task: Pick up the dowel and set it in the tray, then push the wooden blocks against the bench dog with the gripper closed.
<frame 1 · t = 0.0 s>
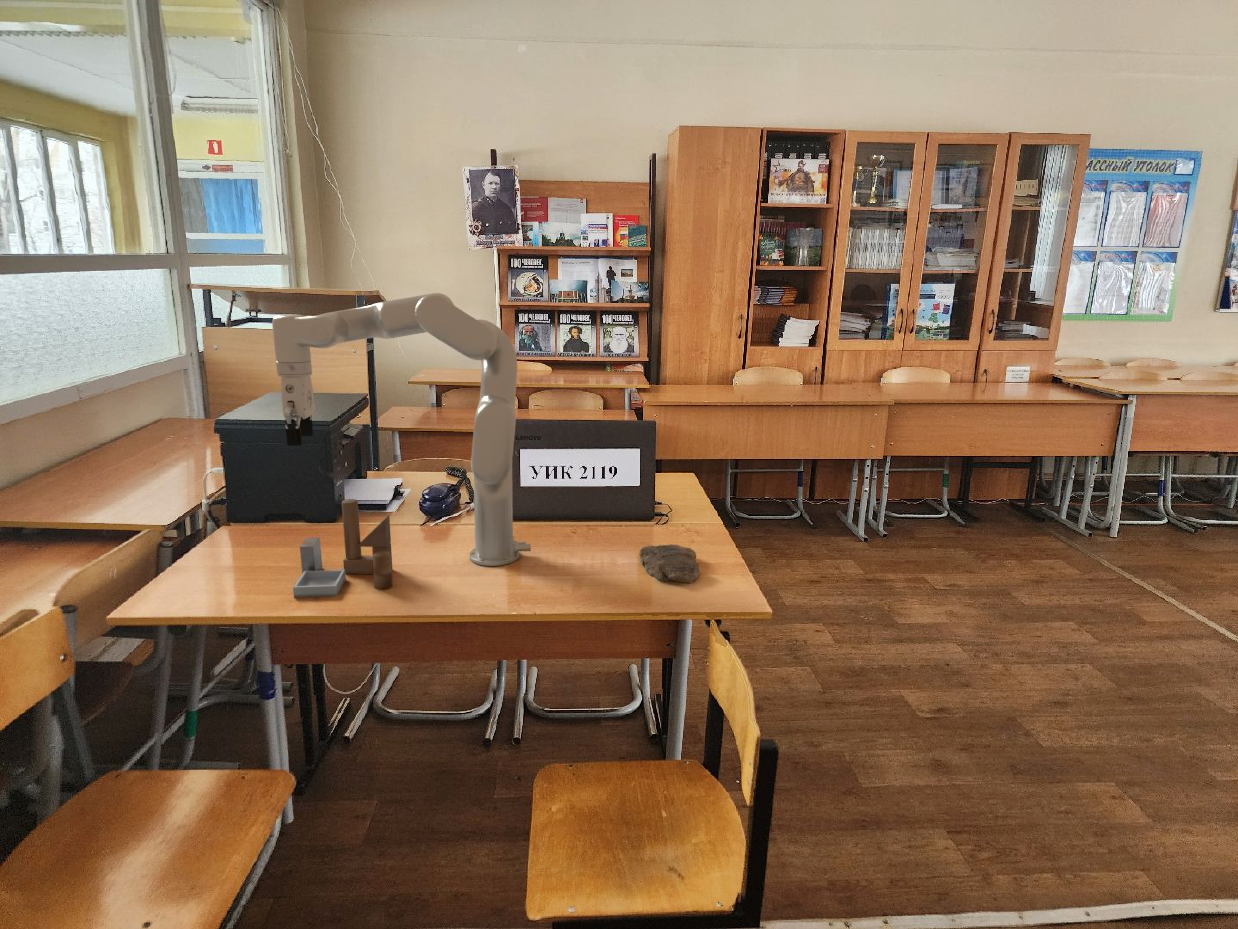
hand: (300, 440, 178), 31 cm above the table, fingers open, 9 cm apart
grey rock: (671, 572, 186), on the table
bench dog: (312, 573, 180), on the table
dowel: (383, 586, 173), on the table
wooden blocks: (368, 572, 181), on the table
tray: (320, 588, 172), on the table
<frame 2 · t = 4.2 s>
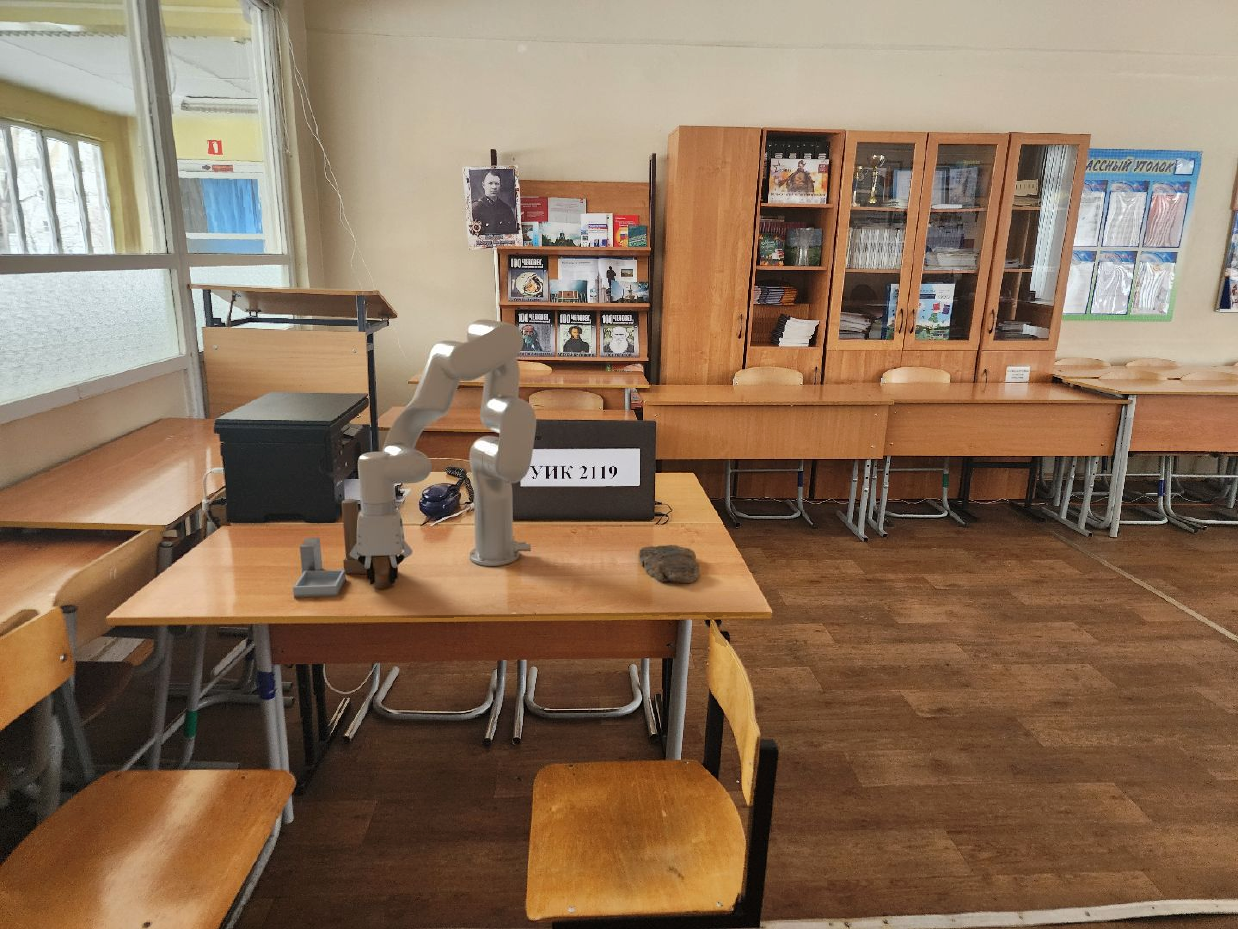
hand: (383, 581, 173), 1 cm above the table, fingers closed on dowel, 4 cm apart
dowel: (383, 586, 173), on the table, touching gripper
everything else where it was.
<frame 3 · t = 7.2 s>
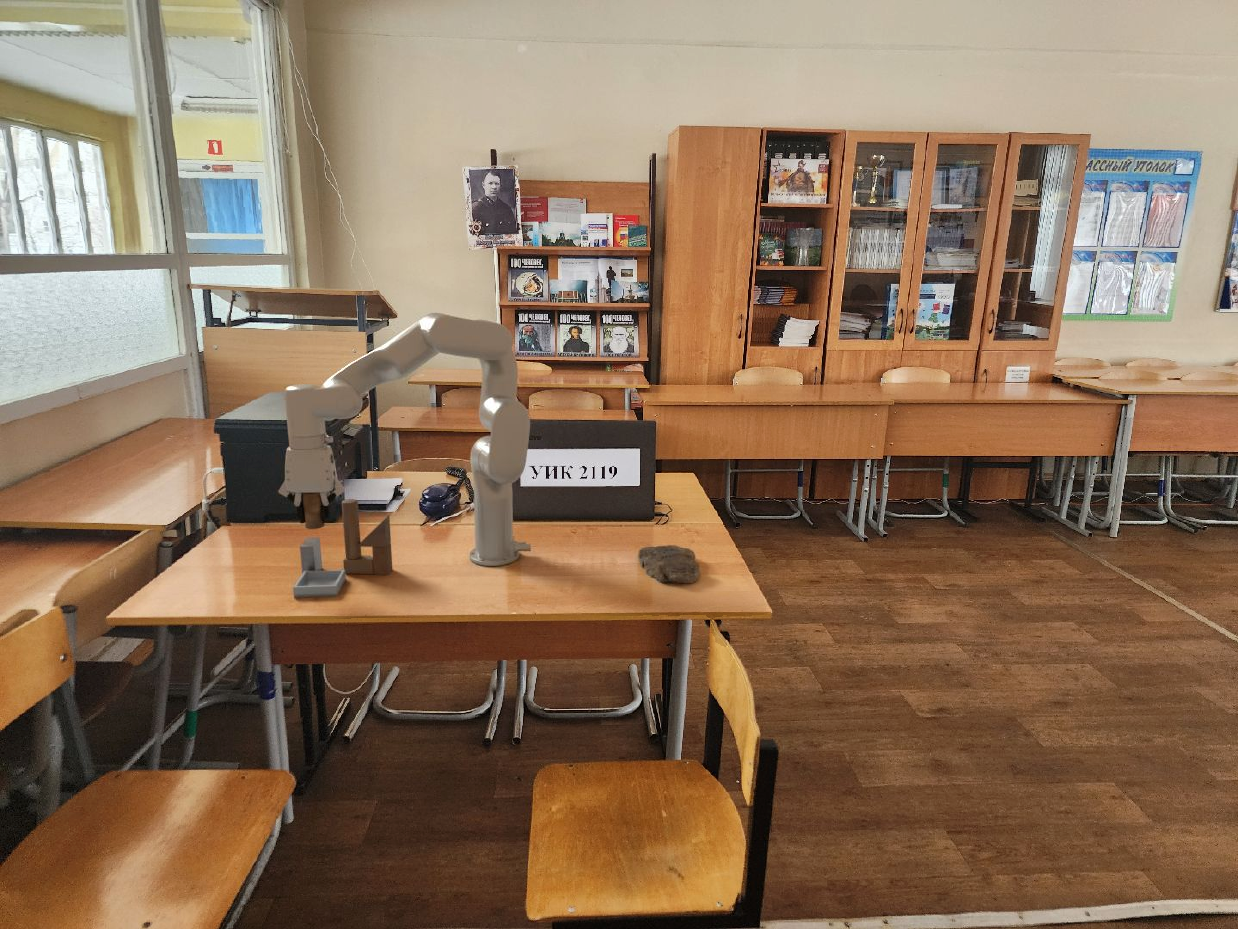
hand: (314, 520, 167), 17 cm above the table, fingers closed on dowel, 4 cm apart
dowel: (315, 526, 168), point 15 cm above the table, touching gripper
everything else where it was.
when the fingers open (3 cm above the table, at t = 10.5 s): dowel stays where it is, resting on tray.
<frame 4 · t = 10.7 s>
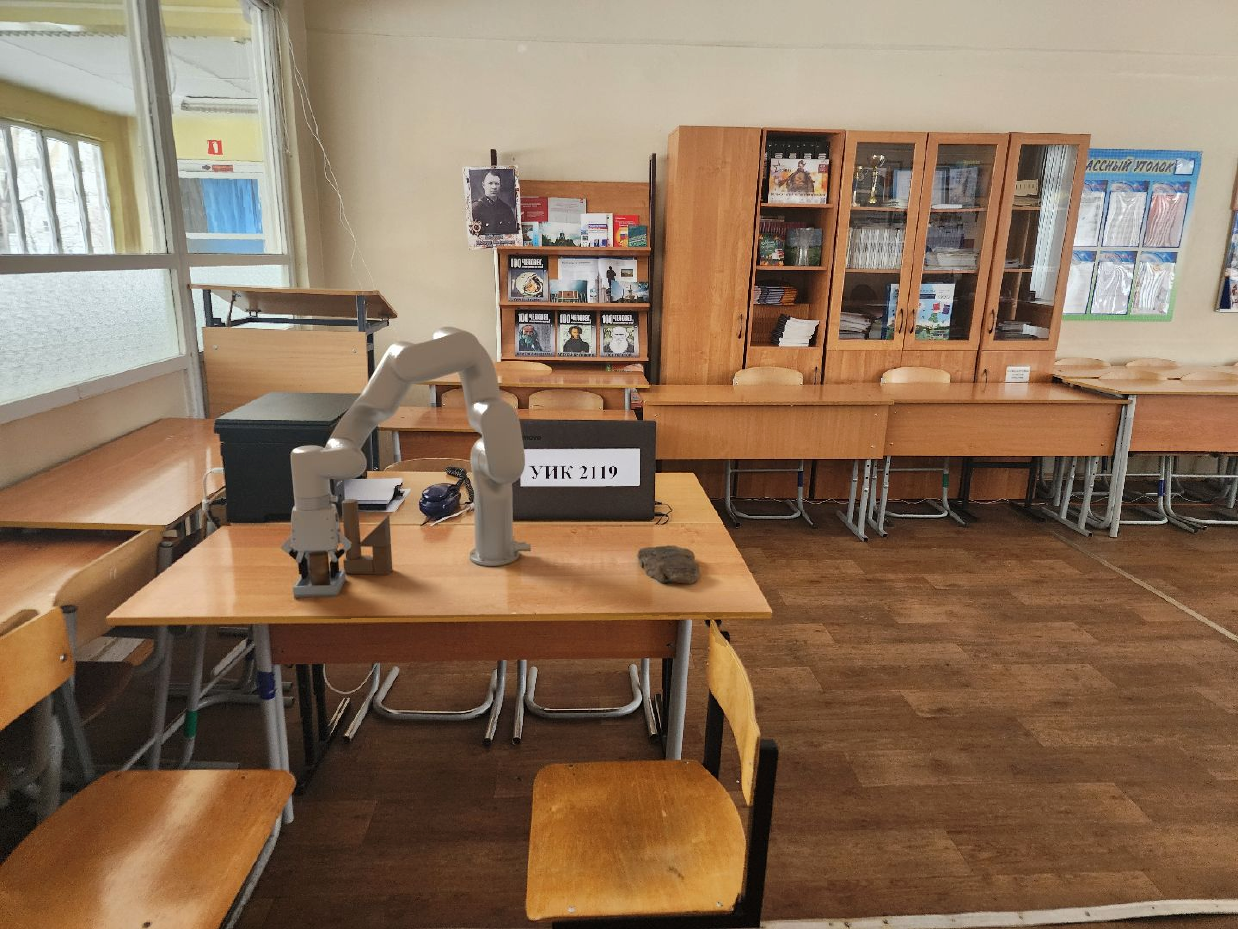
hand: (319, 575, 171), 3 cm above the table, fingers open, 5 cm apart
dowel: (321, 585, 171), point 1 cm above the table, touching tray
everything else where it was.
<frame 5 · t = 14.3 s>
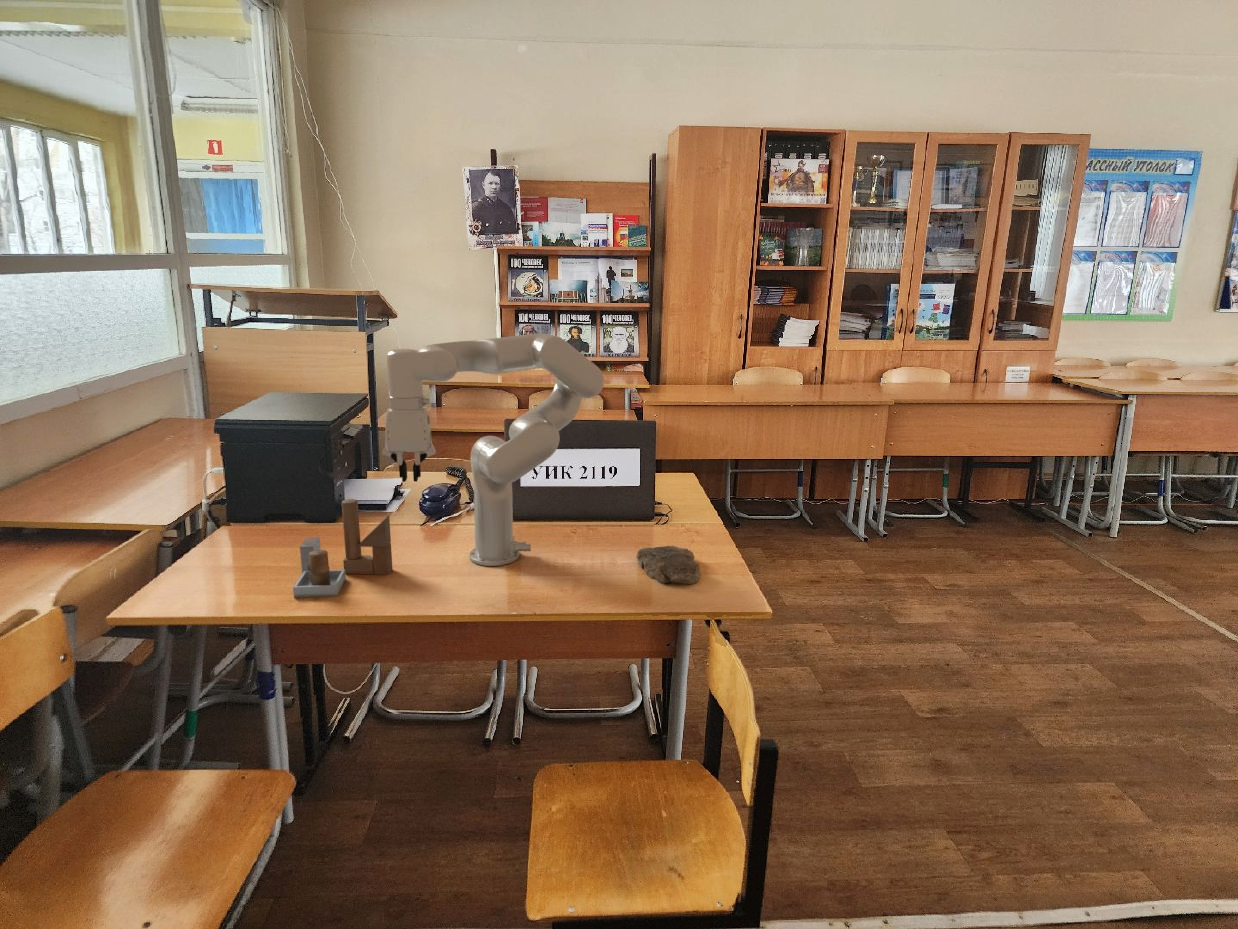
hand: (410, 479, 177), 23 cm above the table, fingers closed
nothing on the table moved.
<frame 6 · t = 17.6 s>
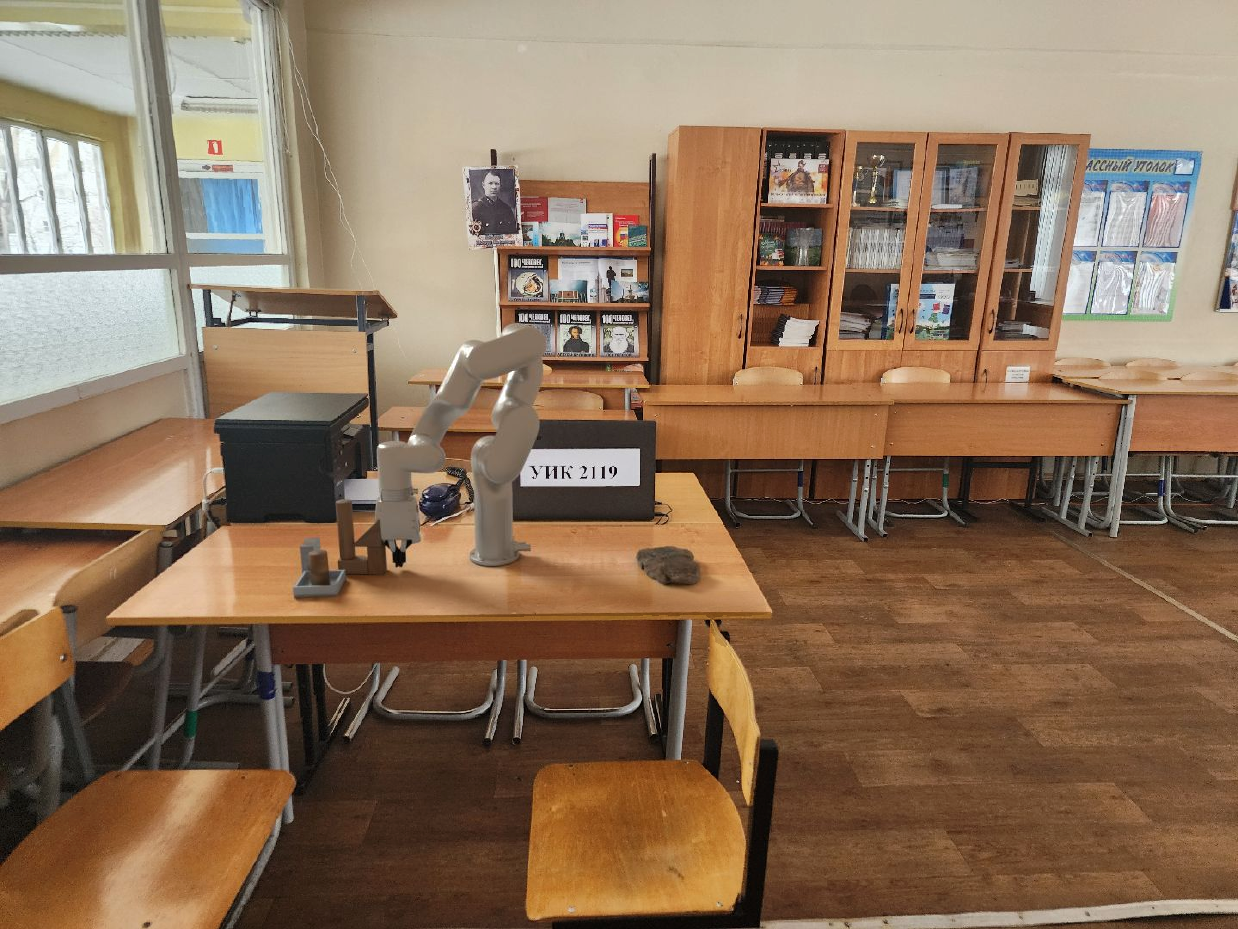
hand: (399, 565, 182), 1 cm above the table, fingers closed
wooden blocks: (363, 572, 181), on the table, touching gripper
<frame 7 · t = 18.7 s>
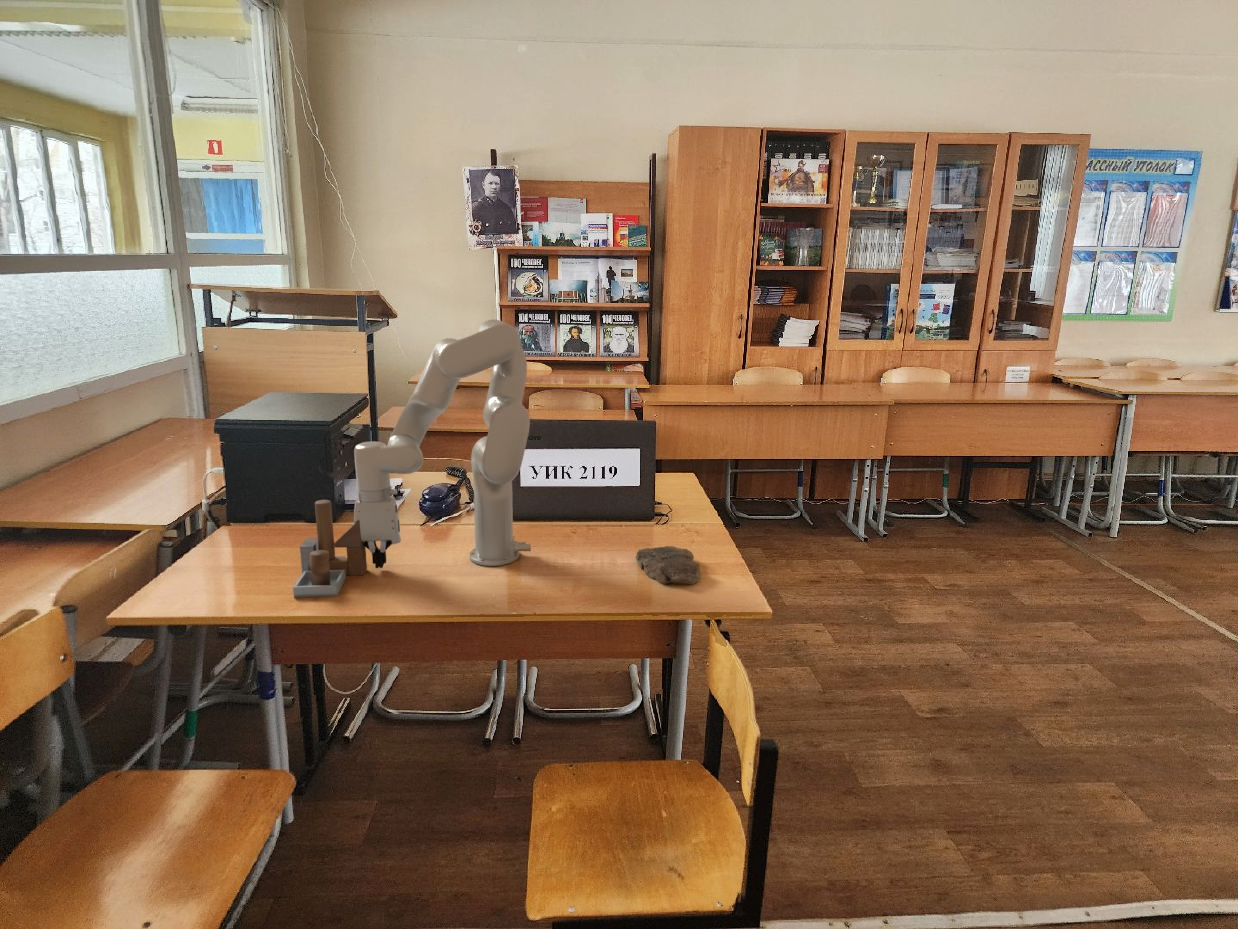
hand: (379, 565, 181), 1 cm above the table, fingers closed
wooden blocks: (342, 573, 181), on the table, touching bench dog, gripper
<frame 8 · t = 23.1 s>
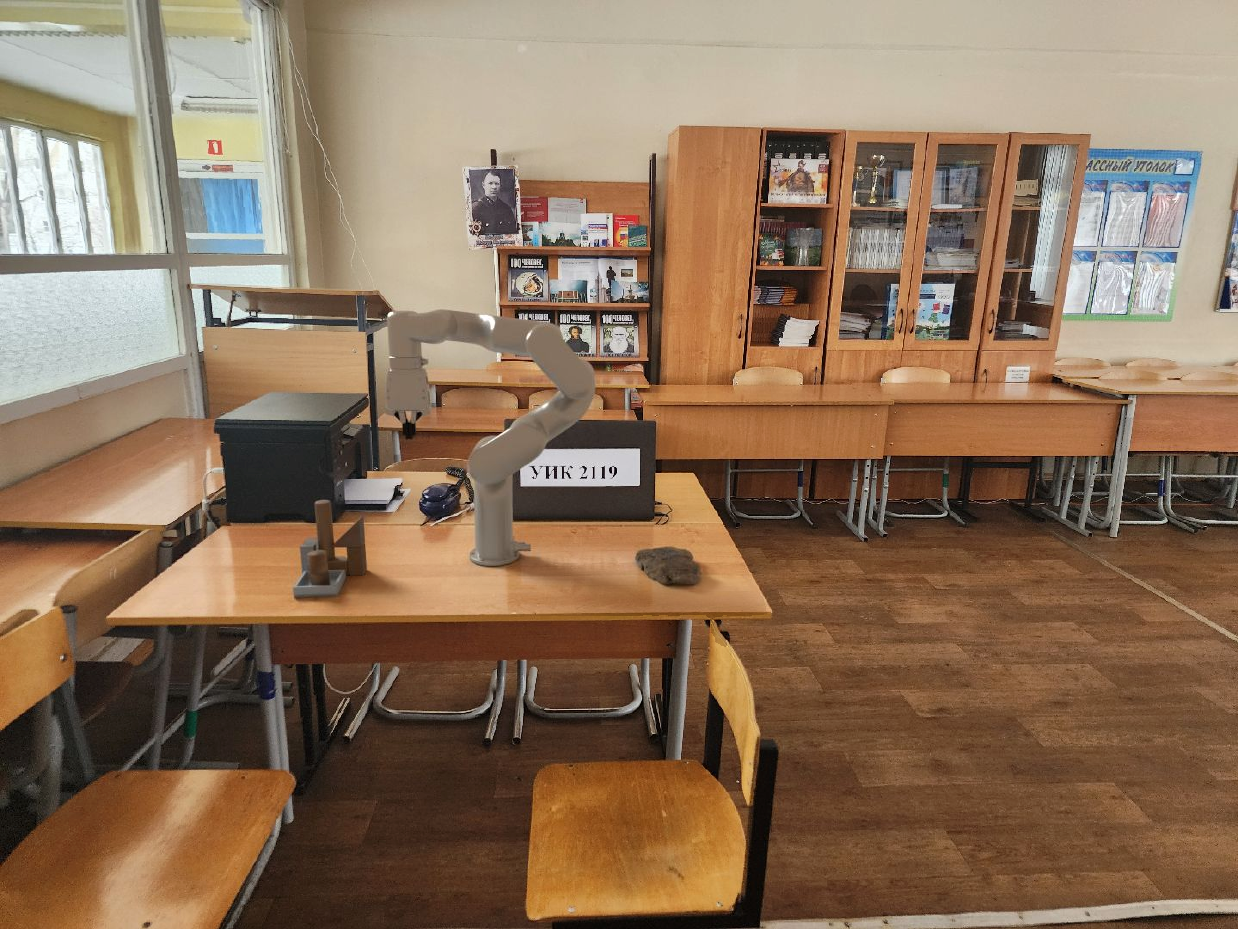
hand: (409, 438, 183), 31 cm above the table, fingers closed
wooden blocks: (342, 573, 181), on the table
at the end: wooden blocks 1.0 cm from the target spot on the table beside the bench dog, on the table; wooden blocks tilted 0°; dowel inside the target area on the tray (0.2 cm from its centre), point 0.7 cm above the tray's base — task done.
